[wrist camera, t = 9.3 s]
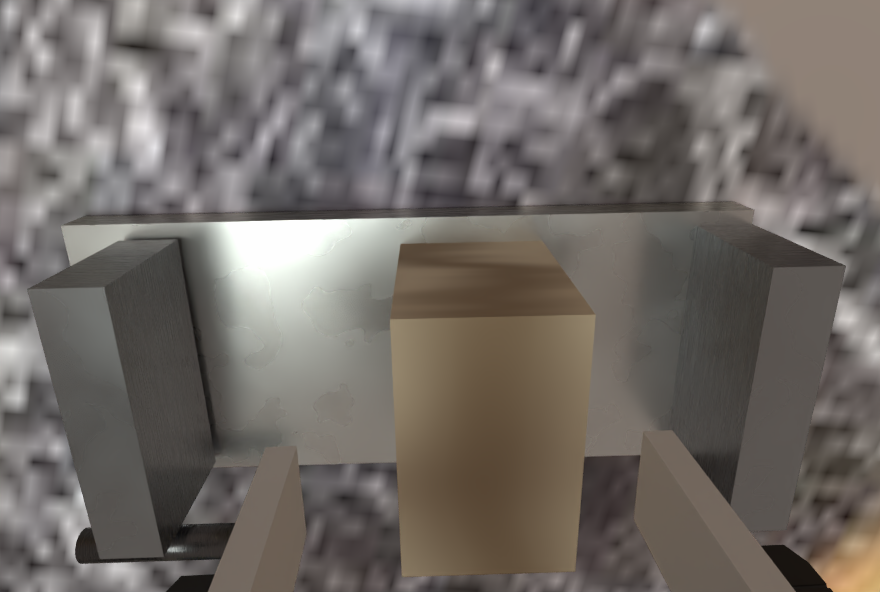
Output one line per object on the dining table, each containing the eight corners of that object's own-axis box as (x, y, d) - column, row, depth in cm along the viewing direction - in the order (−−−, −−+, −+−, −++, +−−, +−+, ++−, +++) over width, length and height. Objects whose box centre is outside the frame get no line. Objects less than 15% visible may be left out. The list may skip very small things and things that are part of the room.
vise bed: (136, 448, 25) (119, 470, 24) (83, 216, 22) (61, 225, 20) (698, 432, 26) (714, 452, 24) (733, 201, 22) (754, 209, 21)
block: (408, 438, 24) (402, 577, 17) (400, 243, 21) (389, 319, 14) (533, 435, 24) (575, 571, 17) (542, 240, 21) (595, 314, 15)
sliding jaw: (123, 508, 24) (51, 611, 20) (59, 242, 20) (-51, 291, 16) (272, 503, 24) (236, 605, 20) (236, 237, 20) (180, 285, 16)
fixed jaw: (666, 443, 24) (725, 532, 19) (695, 225, 21) (773, 267, 16) (716, 442, 24) (786, 530, 19) (751, 223, 21) (846, 266, 16)
